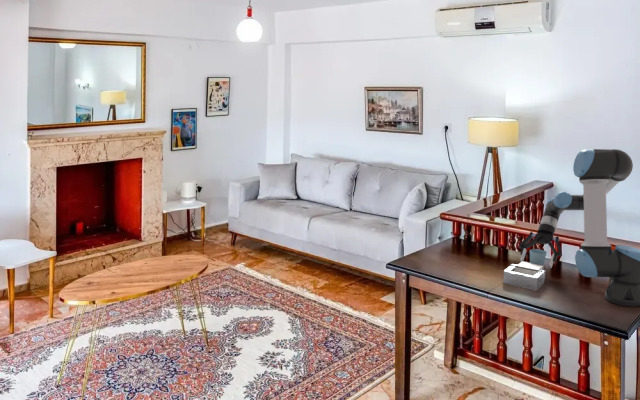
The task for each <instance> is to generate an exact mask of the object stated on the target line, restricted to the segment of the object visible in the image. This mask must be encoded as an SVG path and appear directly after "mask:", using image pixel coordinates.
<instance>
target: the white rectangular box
mask: <svg viewBox="0 0 640 400" xmlns="http://www.w3.org/2000/svg"><path fill="white" fill-rule="evenodd" d="M511 264H512V265H517V264H514V263H511ZM514 269H515V267H514V266H511V265H509V266H508V267H507V268H505V269H504V270H503V279H502V280H503V281H502V284H505V285H510V286H512V287H513V286H514V287H517V288H522V289H527V290H531V291H537V290H538V289H540V288H541V287H542V286H543V285H544V284H545V281H546V270H544V269H543V270H541V271H542V272H538V273H536V274H535V275H534V276H531V275H526V274H521V273H517V272H514Z"/></svg>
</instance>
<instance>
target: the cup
mask: <svg viewBox="0 0 640 400" xmlns="http://www.w3.org/2000/svg"><path fill="white" fill-rule="evenodd" d="M546 257H547V251H546V250H544V249H538V248H531V249H530V250H529V263H534V264H539V265H544V266H545V261H546Z"/></svg>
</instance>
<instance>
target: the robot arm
mask: <svg viewBox="0 0 640 400" xmlns="http://www.w3.org/2000/svg"><path fill="white" fill-rule="evenodd" d="M572 169H573V175H574V176H575V177H577V178H578V179H579V183H580V184H581V185H582V186H583V188H582V190H583V194H570V193H569V192H567V191H560V192H558V193H556V194H555V195H554V197H552V198H550V199H548V201H547V203H546V204H545V208H544V211H543V215H542V217H541V220H540V223H539V227H538V229H537V232H536V233H534V232H533V231H530V232H529V234H528V236H526V237H525V238H524V239H523V240H522V241H521V242H520V243H519V244H518V246H519V249H521V250H520V254H519V255H520V256H521V257H520V263H521V262H522V261H524V260H525V257H526V254H527V250H528V249H529V248H531V247H532V246H534V245H536V244H538V243H539V244H543V245H548V246H549V248H550V250H551V251H552V255H551V258H550V261H549V264H548V266H549V268H550V269H552V267H553V264H554V263H556V262H557V259H558V257H559V256H560V257H562V256H563V253H562V248H561V245H560V237H559V236H557V235H556V236H554V235H555V232H556V228H557V226H558V222H559V219H560V216H561V214H563V212H565V211H583V230H584V231H583V232H584V233H583V234H584V236H583V237H584V241H583V242H582V243H581V244H580V248H579V249H577V251H575V256H574V260H575V261H574V262H575V265H576V268H577V271H578V272H579V273H580V275H581V276H583V277H586V278H594V279H596V278H611V281H610V283H609V284H608V285H607V287H606V290H605V292H604V298H605V299H606V300H607V301H609V302H610V303H612V304H616V305H619V306H623V307H634V308H635V307H640V248H637V247H635V246H630V245H625V244H616V245H615V247H614V249H612V245H611V244H610V243H609V242H608V223H607V218H608V217H607V195H608V193H610V192H611V191H612V189H614V188H615V187H616V186H617V185H618V184H619V183H620V182H624V181H626V179H627V178H628V177H629V176H630V175H631V174H632V171H633V169H634V164H633V160H632V158H631V156H630V155H629V154H628V153H627V152H626V151H623V150H621V149H618V148H617V149H616V148H615V149H611V148H610V149H607V148H604V149H603V148H601V149H600V148H599V149H598V148H596V149H595V148H589V149H582V150H580V151H579V152H578V153H577V154H576V156H575V158H574V160H573V167H572ZM552 241H554V242H555V244H556V247H557V249H556V248H555V247H554V245H553V243H552Z"/></svg>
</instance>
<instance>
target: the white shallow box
mask: <svg viewBox="0 0 640 400" xmlns="http://www.w3.org/2000/svg"><path fill="white" fill-rule="evenodd" d="M512 264H513V263H511V264H510V266H514V267H515V269H514V272H517V273H521V274H526V275H531V276H534V275H535V274H536V273H538V272H542V271H541V270H544V268H545V267H544V266H545V264H544V265H539V264H534V263H530V261H529V262H528V261H524V260H523V261H522V262H521V261H520V263H518V264H516V265H512Z"/></svg>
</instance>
